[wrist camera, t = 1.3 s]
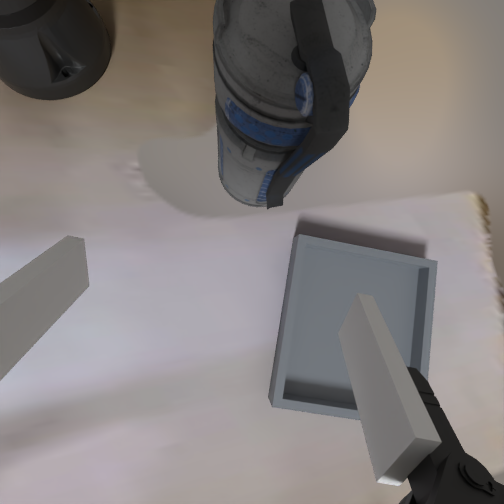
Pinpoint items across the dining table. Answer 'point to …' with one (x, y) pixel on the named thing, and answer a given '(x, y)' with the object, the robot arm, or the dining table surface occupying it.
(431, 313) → the tray
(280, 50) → the beverage bottle
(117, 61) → the dining table surface
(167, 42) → the dining table surface
